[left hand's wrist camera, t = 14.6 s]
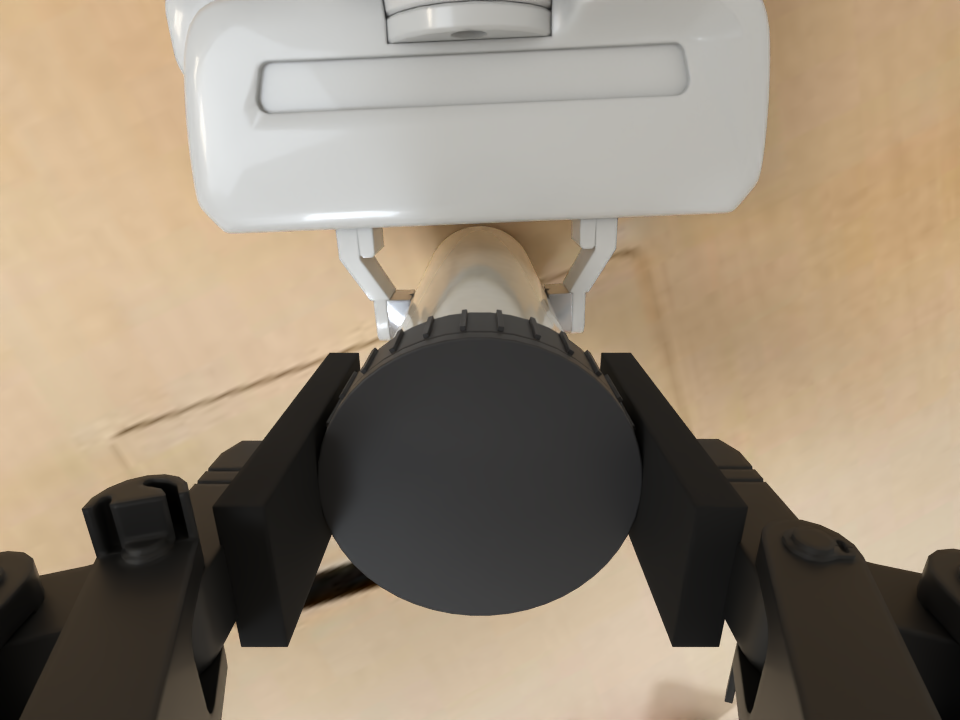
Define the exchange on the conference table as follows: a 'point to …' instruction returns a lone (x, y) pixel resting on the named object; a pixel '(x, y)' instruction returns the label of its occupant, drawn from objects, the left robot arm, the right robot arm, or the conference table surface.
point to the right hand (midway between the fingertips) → (482, 333)
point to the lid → (480, 465)
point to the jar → (480, 280)
